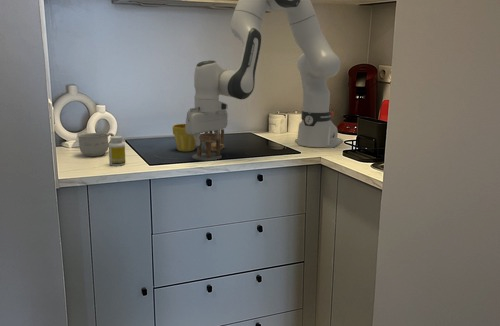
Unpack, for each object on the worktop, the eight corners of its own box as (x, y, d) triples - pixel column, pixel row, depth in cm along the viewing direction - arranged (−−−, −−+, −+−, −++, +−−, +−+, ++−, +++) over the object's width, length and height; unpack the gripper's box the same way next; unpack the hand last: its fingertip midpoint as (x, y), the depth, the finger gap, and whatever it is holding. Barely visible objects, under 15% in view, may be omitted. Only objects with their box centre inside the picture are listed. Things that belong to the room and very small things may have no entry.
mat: (205, 152, 195) (205, 151, 195) (227, 156, 189) (227, 155, 189) (186, 157, 186) (186, 156, 186) (208, 162, 180) (208, 160, 180)
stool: (207, 153, 192) (207, 132, 190) (219, 155, 189) (219, 134, 187) (197, 155, 188) (197, 134, 186) (209, 158, 184) (209, 136, 182)
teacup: (83, 159, 182) (82, 137, 180) (75, 153, 190) (74, 133, 188) (121, 155, 189) (120, 134, 187) (111, 150, 198) (110, 130, 196)
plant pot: (194, 153, 194) (194, 128, 192) (169, 151, 196) (168, 127, 194) (202, 147, 204) (202, 124, 202) (178, 146, 206) (177, 122, 204)
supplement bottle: (128, 164, 175) (127, 136, 173) (115, 167, 171) (113, 138, 169) (119, 161, 179) (118, 134, 176) (106, 164, 175) (104, 136, 172)
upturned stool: (210, 147, 205) (210, 128, 204) (224, 148, 204) (224, 129, 202) (204, 150, 200) (204, 130, 198) (219, 151, 198) (219, 131, 196)
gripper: (194, 109, 173) (194, 148, 176) (230, 104, 189) (230, 140, 193) (180, 108, 177) (181, 146, 180) (217, 102, 193) (217, 138, 196)
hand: (207, 143), depth 186 cm, fingers open, 8 cm apart
